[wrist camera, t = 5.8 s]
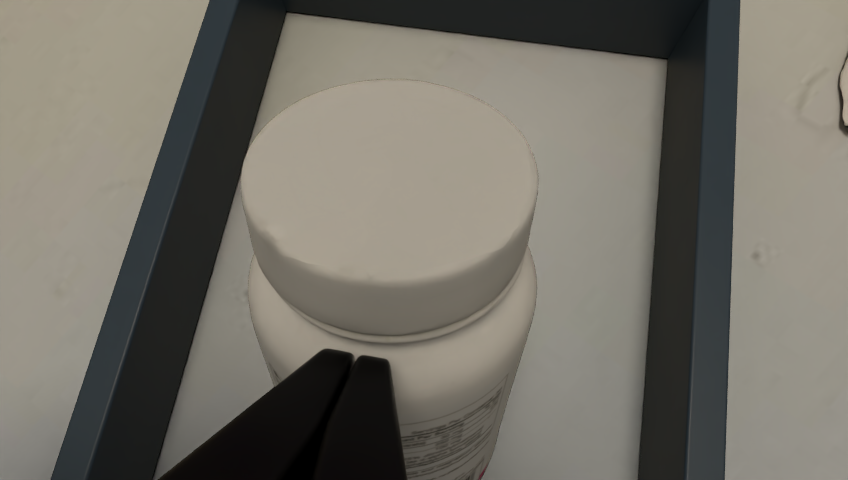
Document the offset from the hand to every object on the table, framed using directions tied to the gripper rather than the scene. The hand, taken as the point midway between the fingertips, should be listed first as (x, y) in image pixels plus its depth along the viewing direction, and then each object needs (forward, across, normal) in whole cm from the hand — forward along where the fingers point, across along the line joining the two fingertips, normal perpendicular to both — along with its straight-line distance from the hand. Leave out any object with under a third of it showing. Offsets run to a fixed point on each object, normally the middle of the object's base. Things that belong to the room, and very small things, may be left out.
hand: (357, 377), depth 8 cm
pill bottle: (+4, 0, +6) cm, 7 cm away
